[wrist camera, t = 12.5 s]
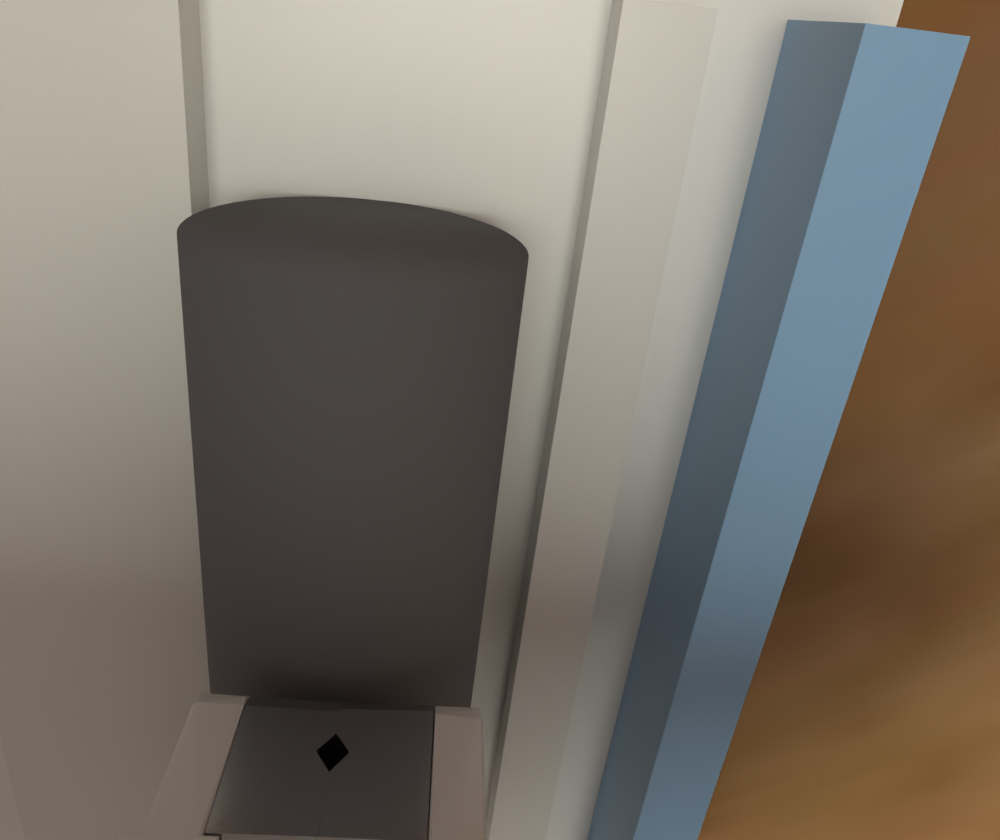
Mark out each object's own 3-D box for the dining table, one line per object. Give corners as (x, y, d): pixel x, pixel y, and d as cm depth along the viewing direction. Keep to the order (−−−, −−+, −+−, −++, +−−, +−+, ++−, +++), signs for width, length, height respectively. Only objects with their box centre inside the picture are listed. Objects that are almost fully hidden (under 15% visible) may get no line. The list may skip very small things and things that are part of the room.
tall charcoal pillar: (465, 784, 14) (426, 997, 11) (273, 750, 14) (182, 951, 11) (540, 222, 10) (509, 317, 7) (258, 182, 10) (100, 257, 7)
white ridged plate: (629, 838, 17) (658, 992, 14) (-281, 800, 16) (-436, 964, 13) (869, -16, 10) (1018, -22, 7) (-789, -234, 8) (-1378, -344, 6)
